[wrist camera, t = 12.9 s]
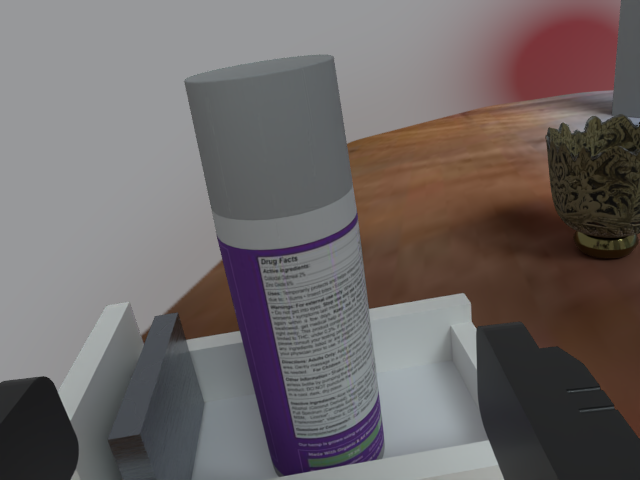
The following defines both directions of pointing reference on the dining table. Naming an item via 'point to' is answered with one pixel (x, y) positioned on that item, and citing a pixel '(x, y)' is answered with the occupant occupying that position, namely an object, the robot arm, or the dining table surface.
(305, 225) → the container
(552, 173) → the cup
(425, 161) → the dining table surface
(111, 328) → the white drawer
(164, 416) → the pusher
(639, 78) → the perfume bottle
